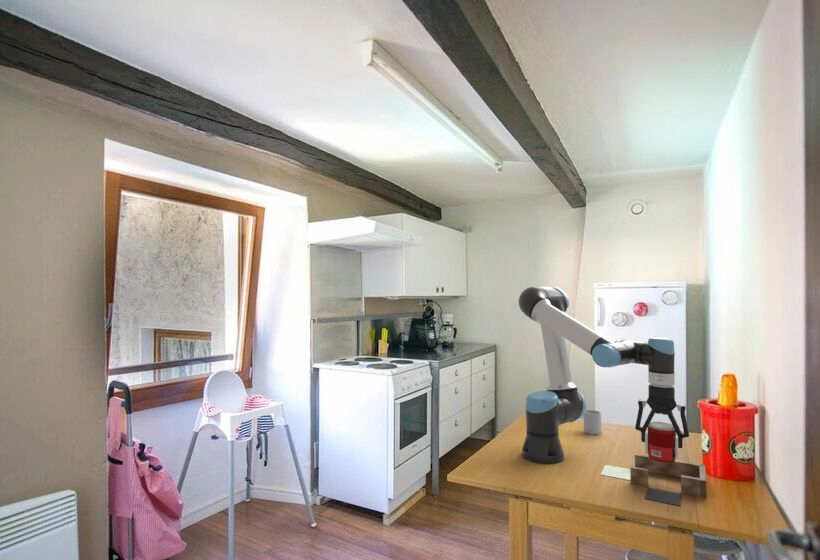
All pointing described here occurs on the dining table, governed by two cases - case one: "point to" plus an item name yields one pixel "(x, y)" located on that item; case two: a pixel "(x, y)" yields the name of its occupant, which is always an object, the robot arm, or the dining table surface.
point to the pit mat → (663, 496)
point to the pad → (616, 472)
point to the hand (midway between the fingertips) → (661, 454)
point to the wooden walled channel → (671, 474)
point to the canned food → (661, 442)
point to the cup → (592, 422)
